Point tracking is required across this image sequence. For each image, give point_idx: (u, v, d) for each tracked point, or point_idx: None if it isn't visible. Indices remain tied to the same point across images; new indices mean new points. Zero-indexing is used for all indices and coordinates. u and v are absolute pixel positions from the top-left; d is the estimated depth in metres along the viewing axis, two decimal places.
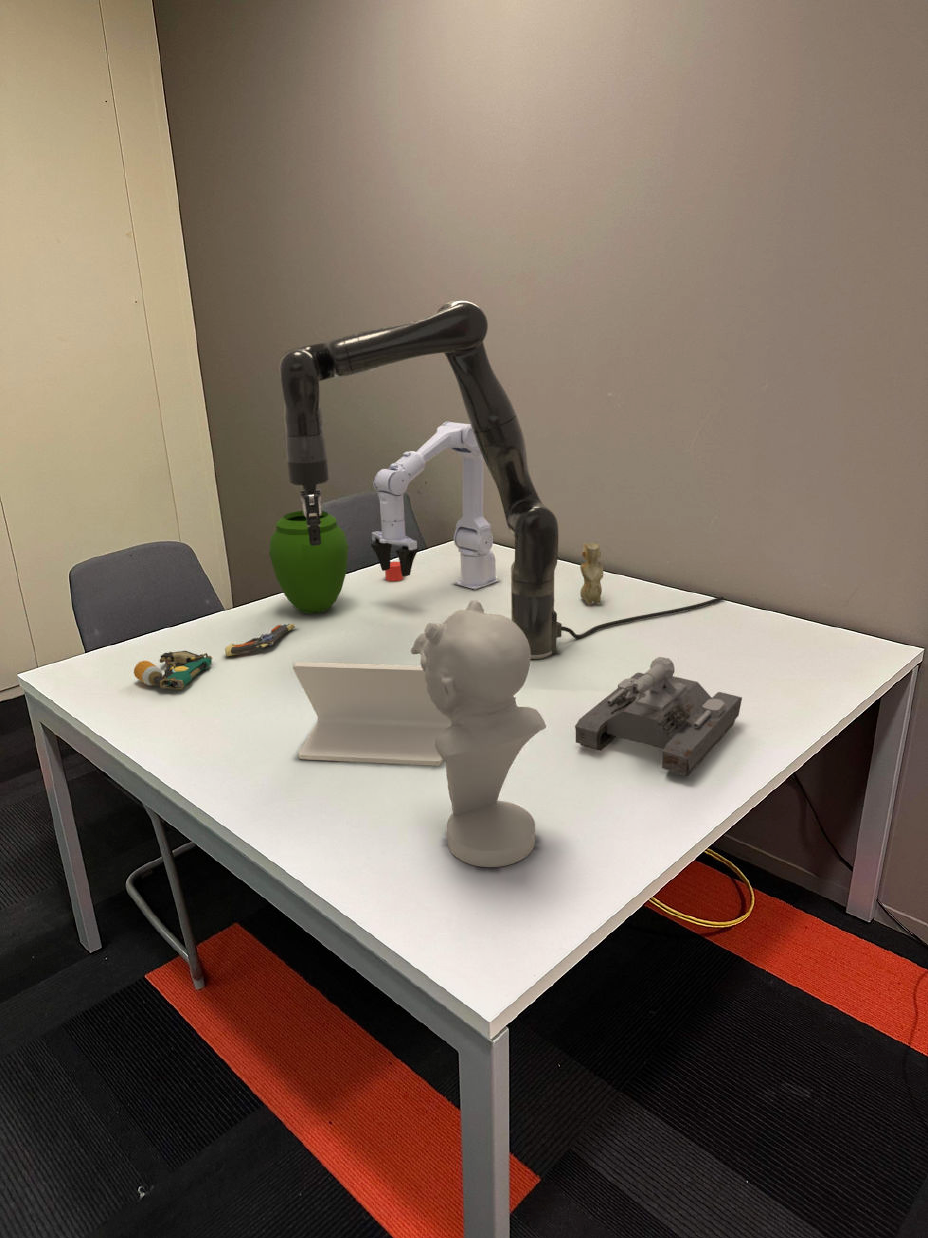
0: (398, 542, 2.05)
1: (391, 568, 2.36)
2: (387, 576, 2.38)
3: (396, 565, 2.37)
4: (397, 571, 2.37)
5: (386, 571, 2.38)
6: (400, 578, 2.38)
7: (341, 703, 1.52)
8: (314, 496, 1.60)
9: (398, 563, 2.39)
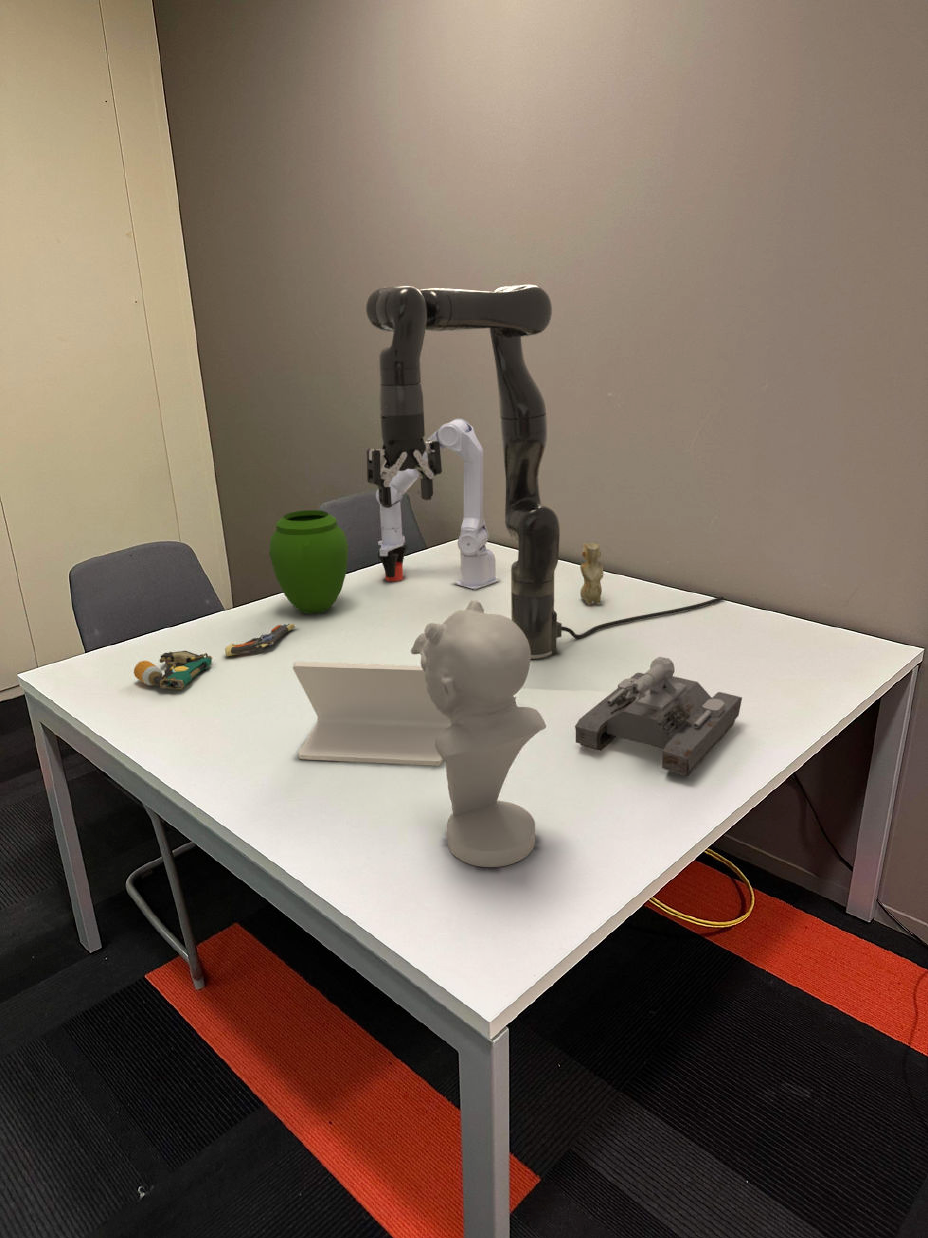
0: (381, 546, 2.33)
1: None
2: None
3: (396, 565, 2.37)
4: (397, 571, 2.37)
5: None
6: (400, 578, 2.38)
7: (341, 703, 1.52)
8: None
9: (398, 563, 2.39)
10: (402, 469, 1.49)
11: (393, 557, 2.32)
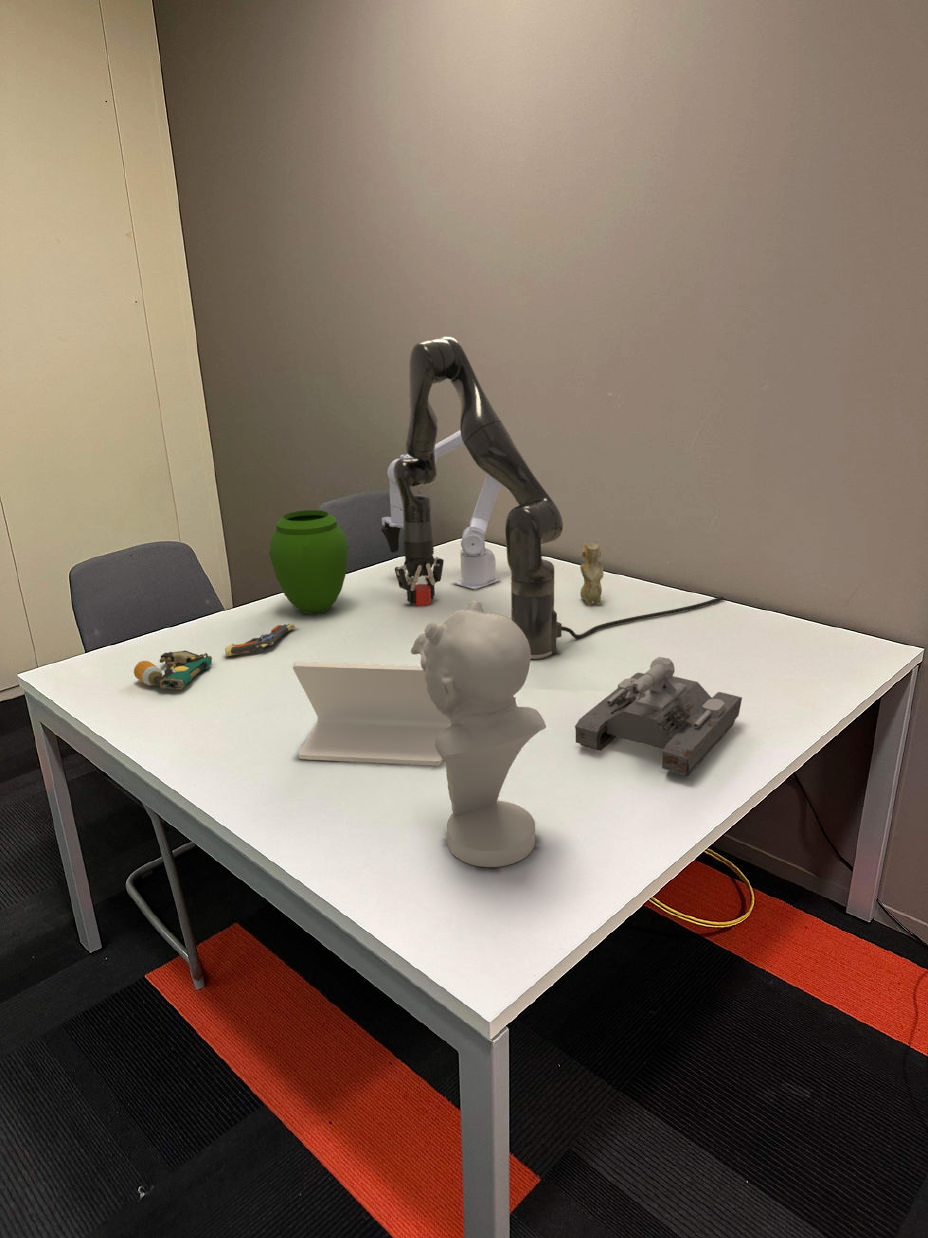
0: None
1: (428, 590, 2.17)
2: (423, 601, 2.18)
3: (427, 586, 2.19)
4: (430, 592, 2.19)
5: (421, 596, 2.17)
6: None
7: (341, 703, 1.52)
8: None
9: (421, 585, 2.20)
10: None
11: None
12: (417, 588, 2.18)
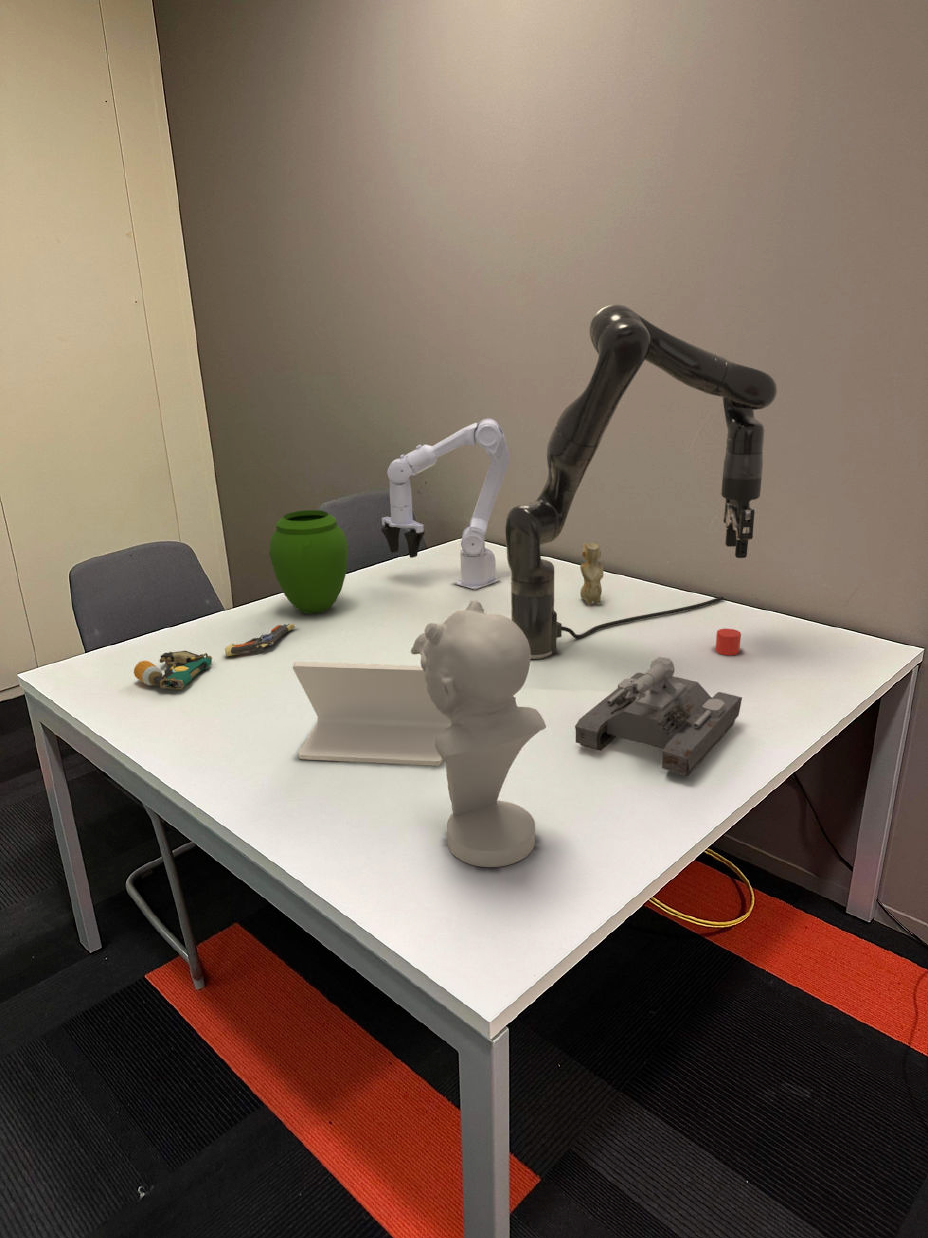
0: (406, 526, 2.25)
1: (718, 636, 1.84)
2: None
3: (726, 635, 1.83)
4: (723, 642, 1.82)
5: None
6: (726, 652, 1.83)
7: (341, 703, 1.52)
8: (751, 512, 1.67)
9: (734, 634, 1.83)
10: (732, 520, 1.76)
11: (423, 533, 2.27)
12: (725, 630, 1.85)
